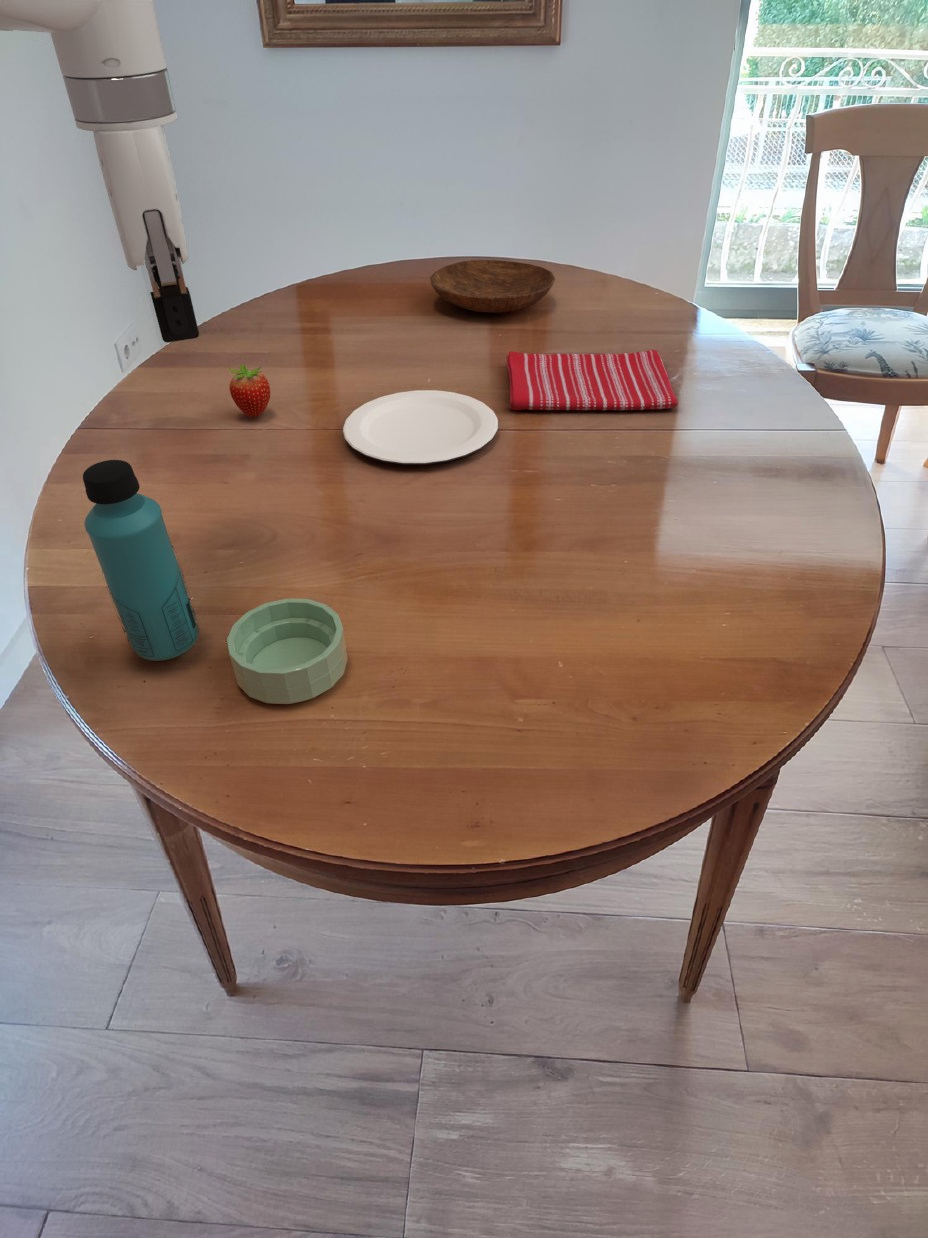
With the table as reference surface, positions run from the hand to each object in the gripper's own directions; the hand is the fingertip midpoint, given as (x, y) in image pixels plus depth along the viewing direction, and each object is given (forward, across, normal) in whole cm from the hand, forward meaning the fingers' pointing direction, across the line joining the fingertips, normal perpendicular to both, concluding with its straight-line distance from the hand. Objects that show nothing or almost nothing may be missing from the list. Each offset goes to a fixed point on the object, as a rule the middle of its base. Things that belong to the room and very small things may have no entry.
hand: (180, 336), depth 76 cm
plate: (+25, -20, +28) cm, 43 cm away
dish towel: (+25, -24, +55) cm, 65 cm away
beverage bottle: (+25, +12, -8) cm, 29 cm away
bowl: (+25, -61, +55) cm, 86 cm away
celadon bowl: (+25, +19, +2) cm, 32 cm away
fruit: (+25, -34, +8) cm, 43 cm away
